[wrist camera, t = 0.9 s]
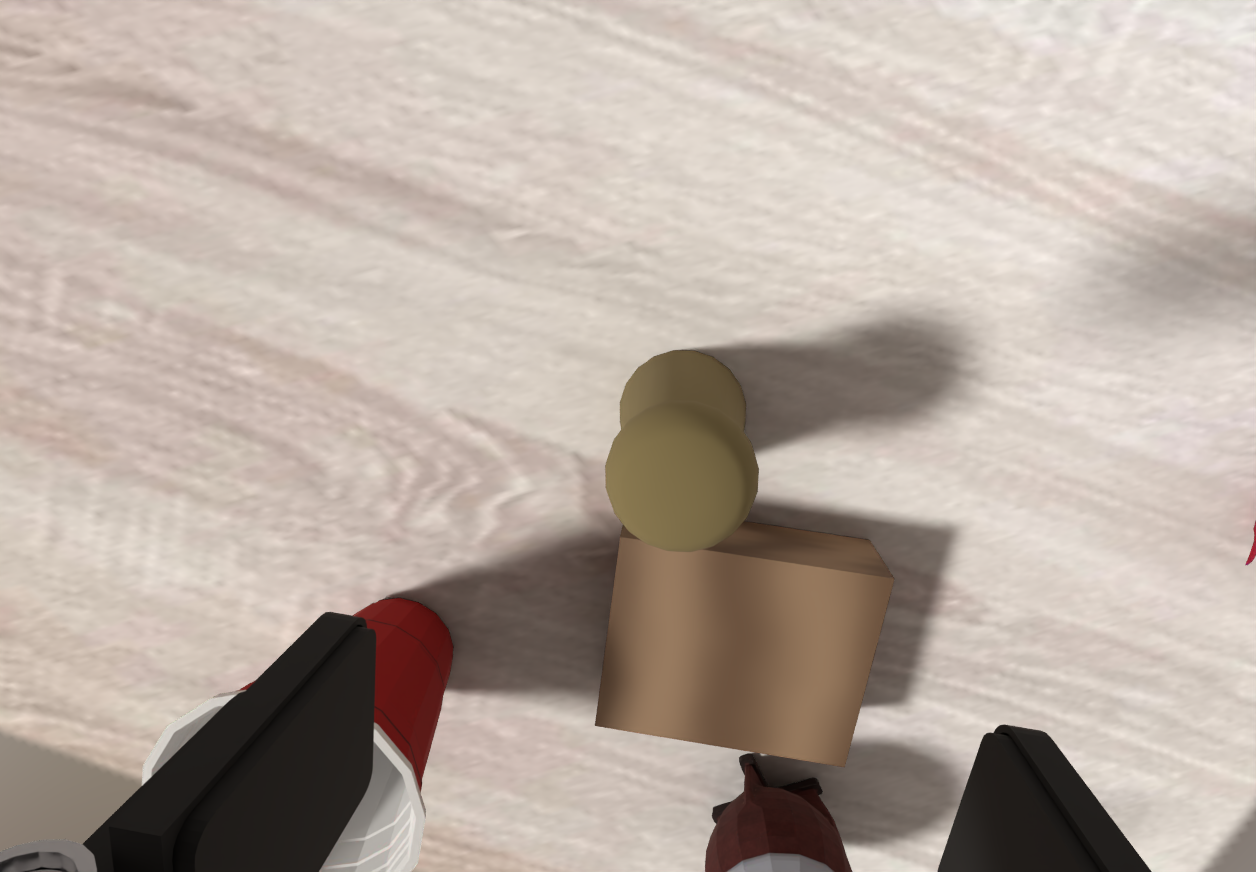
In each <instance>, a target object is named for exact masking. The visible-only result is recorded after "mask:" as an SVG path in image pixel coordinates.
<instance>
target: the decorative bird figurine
mask: <svg viewBox="0 0 1256 872" xmlns="http://www.w3.org/2000/svg"><path fill="white" fill-rule="evenodd" d="M1255 556H1256V522H1255V526H1254V543H1253V546H1252V549H1251V552H1250V555H1249V557H1248V560H1247V562H1246V565H1248V564H1250V563H1251V562H1252V561H1253V559H1254V558H1255Z"/></svg>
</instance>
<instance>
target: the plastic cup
mask: <svg viewBox="0 0 1256 872" xmlns="http://www.w3.org/2000/svg"><path fill="white" fill-rule="evenodd" d="M353 616H357V617H363V618H364V619H365V620H366V623H367V628H370V629H374V630H375V632H376V669H375V706H374V743H373V770H372V776H371V780H370V783H369V786H368V789H367V791H366V793H365V795H364V797H363V799H362V800H361V802H360V804H359V805H358V807H357V809H356V811H355V812H354V814H353V816H352V817H351V819H350V821H349V822H348V824H347V826H346V827H345V829H344V831H343V832H342V834H341V836H340V837H339V839H338V841H337V842H336V844H335V846H334V848H333V849H332V851H331V853H330V854H329V856H328V858H327V859H326V861H325V863H324V864H323V866H322V868H321V869H320V871H319V872H411V871H412V870H413V869H414V867H415V866H416V865H417V863H418V860H419V854H420V848H421V842H422V836H423V830H424V824H425V818H426V809H425V806H424V803H423V799H422V796H421V787H422V777H423V774H424V770H425V766H426V763H427V759H428V755H429V752H430V748H431V744H432V741H433V737H434V733H435V730H436V726H437V722H438V719H439V715H440V711H441V706H442V700H443V695H444V691H445V688H446V685H447V681H448V678H449V675H450V670H451V664H452V658H453V644H452V640H451V637H450V633H449V630H448V628H447V627H446V626H445V624H444V623H443V622H442V621H441V619H440V618H439V617H438V615H437V614H436V613H434V612H433V611H431V610H430V609H428V608H427V607H425V606H423V605H422V604H420V603H419V602H414V601H410V600H406V599H402V598H394V599H387V600H380V601H378V602H376V603H372V604H371V605H369V606H367V607H366V608H364V609H362V610H361V611H359V612H357V613H356V614H354V615H353ZM255 681H256V680H255ZM255 681H254V682H255ZM254 682H252V683H250V684H248V685H246V686H245V687H243V688H241V689H240V690H238V691H235V692H229V693H222V694H218V695H217V696H215V697H213V698H211V699H209V700H207V701H206V702H204V703H203V704H201V705H199V706H198V707H196V708H195V709H193V710H192V711H190V712H188V713H187V714H185V715H184V716H182V717H180V718H179V719H177V720H176V721H174V722H172V723H171V724H169V725H168V726H167V727H166V728H165V730H164V732H163V733H162V735H161V737H160V738H159V740H158V742H157V743H156V745H155V747H154V748H153V750H152V752H151V753H150V755H149V757H148V758H147V760H146V762H145V763H144V765H143V774H142V785H143V784H144V783H145V782H146V781H148V780H149V779H150V778H151V777H152V776H153V775H154V774H155V773H156V772H157V771H158V770H159V769H160V768H161V767H162V766H163V765H164V764H165V763H166V762H167V761H168V760H169V759H170V758H171V757H172V756H173V755H174V754H175V753H176V752H177V751H178V750H179V749H180V748H181V747H182V746H183V745H184V744H185V743H186V742H187V741H188V740H189V739H190V738H192V737H193V736H194V735H195V734H196V733H197V732H198V731H199V730H200V729H201V728H202V727H203V726H204V725H205V724H206V723H207V722H208V721H209V720H210V719H211V718H212V717H213V716H214V715H215V714H216V713H217V712H218V711H219V710H220V709H221V708H222V707H223V706H224V705H225V704H226V703H227V702H228V701H229V700H231V699H232V698H233V697H234V696H236V695H237V694H238V693H240V692H244V691H246V690H247V689H248V688H249V687H250V686H251V685H252V684H253V683H254Z"/></svg>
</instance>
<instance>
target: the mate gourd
mask: <svg viewBox="0 0 1256 872" xmlns="http://www.w3.org/2000/svg"><path fill="white" fill-rule="evenodd" d="M739 762H740V765H741V768H742V771H743V773H744V775H745V781H744V792H743V793H742V794H741V795H739V796H738V797H737V798H736V799H735V800H734V801H732V802H728V803H725V804H722V805H719V806H716V807H713V813H712V818H713V820H714V822H715V823H716V826H715V828H714V830H713V832H712V835H711V837H710V840H709V843H708V847H707V850H706V861H705V872H852V870H851V867H850V864H849V861H848V859H847V856H846V853H845V849H844V846H843V843H842V840H841V837H840V835H839V832H838V829H837V827H836V824H835V821H834V819H833V818H832V816H831V815H830V813H829V811H828V810H827V808H826V807H825V805H824V804H823V802H822V801H821V799H820V797H819V796H818V795H820V794H822V792H823V791H822V789H821V787H820V785H819V782H818V780H817V779H816V778H811V779H806V780H803V781H800V782H796V783H793V784H789V785H786V786H782V787H779V788H773V787H768V785H767V783H766V781H765V779H764V777H763V775H762V773H761V771H760V769H759V766H758V764H757V762H756V760H755V758H754V757H753V755H752V754H745V755H742V756H740V757H739Z"/></svg>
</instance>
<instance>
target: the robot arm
mask: <svg viewBox="0 0 1256 872" xmlns="http://www.w3.org/2000/svg"><path fill="white" fill-rule="evenodd" d="M375 669H376V632H375V630H374V629H370V628H367V623H366V620H365V619H364V618H363V617H357V616H351V615H345V614H339V613H333V612H326V613H324V614H323V615H322V616H320V617H319V618H318V619H317V620H316V621H315V622H314V623H313V624H312V625H311V626H310V627H309V628H308V629H307V630H306V631H305V632H304V633H303V634H302V635H301V636H300V637H299V638H298V639H297V640H296V641H295V642H294V643H293V644H292V645H291V646H290V647H289V648H288V649H287V650H286V651H285V652H284V653H283V654H282V655H281V656H280V657H279V658H278V659H277V660H276V661H275V662H274V663H273V664H272V665H271V666H270V667H269V668H268V669H267V670H266V671H265V672H264V673H263V674H262V675H261V676H260V677H259V678H258V679H257V680H256V681H255V682H254V683H253V684H252V685H251V686H250V687H249V688H248V689H247V690H246V691H244V692H240V693H238V694H237V695H236V696H234V697H233V698H232V699H231V700H229V701H228V702H227V703H226V704H225V705H224V706H223V707H222V708H221V709H220V710H219V711H218V712H217V713H216V714H215V715H214V716H213V717H212V718H211V719H210V720H209V721H208V722H207V723H206V724H205V725H204V726H203V727H202V728H201V729H200V730H199V731H198V732H197V733H196V734H195V735H194V736H193V737H192V738H190V739H189V740H188V741H187V742H186V743H185V744H184V745H183V746H182V747H181V748H180V749H179V750H178V751H177V752H176V753H175V754H174V755H173V756H172V757H171V758H170V759H169V760H168V761H167V762H166V763H165V764H164V765H163V766H162V767H161V768H160V769H159V770H158V771H157V772H156V773H155V774H154V775H153V776H152V777H151V778H150V779H149V780H148V781H146V782H145V783H144V784H143V785H142V786H141V787H140V788H139V789H138V790H137V791H136V792H135V793H134V794H133V795H132V796H131V797H130V798H129V799H128V800H127V801H126V802H125V803H124V804H123V805H122V806H121V807H120V808H119V809H118V810H117V811H116V812H115V813H114V814H113V815H112V816H111V817H110V818H109V819H108V820H107V821H106V822H105V823H104V824H103V825H102V826H101V827H100V828H98V829H97V830H96V831H95V832H94V834H92V835H91V836H90V837H89V838H88V839H87V840H86V841H85V842H84V843H83V844H79V843H76V842H73V841H69V840H65V839H61V840H60V839H59V840H39V841H35V842H30V843H26V844H22V845H17V846H14V847H11V848H9V849H6V850H3V851H1V852H0V872H319V871H320V869H321V868H322V866H323V864H324V863H325V861H326V859H327V858H328V856H329V854H330V853H331V851H332V849H333V848H334V846H335V844H336V842H337V841H338V839H339V837H340V836H341V834H342V832H343V831H344V829H345V827H346V826H347V824H348V822H349V821H350V819H351V817H352V816H353V814H354V812H355V811H356V809H357V807H358V805H359V804H360V802H361V800H362V799H363V797H364V795H365V793H366V791H367V789H368V786H369V783H370V780H371V776H372V770H373V743H374V706H375ZM938 872H1151V870H1150V869H1149V868H1148V866H1147V865H1146V864H1145V862H1144V861H1143V860H1142V858H1141V857H1140V856H1139V854H1138V853H1137V852H1136V850H1135V849H1134V848H1133V846H1132V845H1131V844H1130V842H1129V841H1128V840H1127V838H1126V837H1125V836H1124V834H1123V833H1122V832H1121V830H1120V829H1119V828H1118V826H1117V825H1116V824H1115V822H1114V821H1113V820H1112V818H1111V817H1110V816H1109V814H1108V813H1107V812H1106V810H1105V809H1104V808H1103V806H1102V805H1101V804H1100V802H1099V801H1098V800H1097V798H1096V797H1095V796H1094V794H1093V793H1092V792H1091V790H1090V789H1089V788H1088V786H1087V785H1086V784H1085V782H1084V781H1083V780H1082V778H1081V777H1080V776H1079V774H1078V773H1077V772H1076V770H1075V769H1074V768H1073V766H1072V765H1071V764H1070V762H1069V761H1068V760H1067V758H1066V757H1065V756H1064V754H1063V753H1062V752H1061V751H1060V749H1059V748H1058V747H1057V745H1056V744H1055V743H1054V741H1053V740H1052V739H1051V737H1050V736H1049V735H1048V734H1047V733H1045V732H1043V731H1039V730H1033V729H1028V728H1022V727H1016V726H1010V725H1000V726H998V727H997V728H996V729H995V731H994V733H987V734H985V735H984V737H983V739H982V741H981V744H980V747H979V750H978V753H977V756H976V759H975V762H974V765H973V767H972V770H971V773H970V776H969V779H968V782H967V785H966V788H965V791H964V794H963V797H962V800H961V803H960V806H959V809H958V812H957V815H956V818H955V820H954V823H953V826H952V829H951V832H950V835H949V838H948V841H947V844H946V847H945V850H944V853H943V856H942V859H941V862H940V865H939V868H938Z"/></svg>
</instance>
